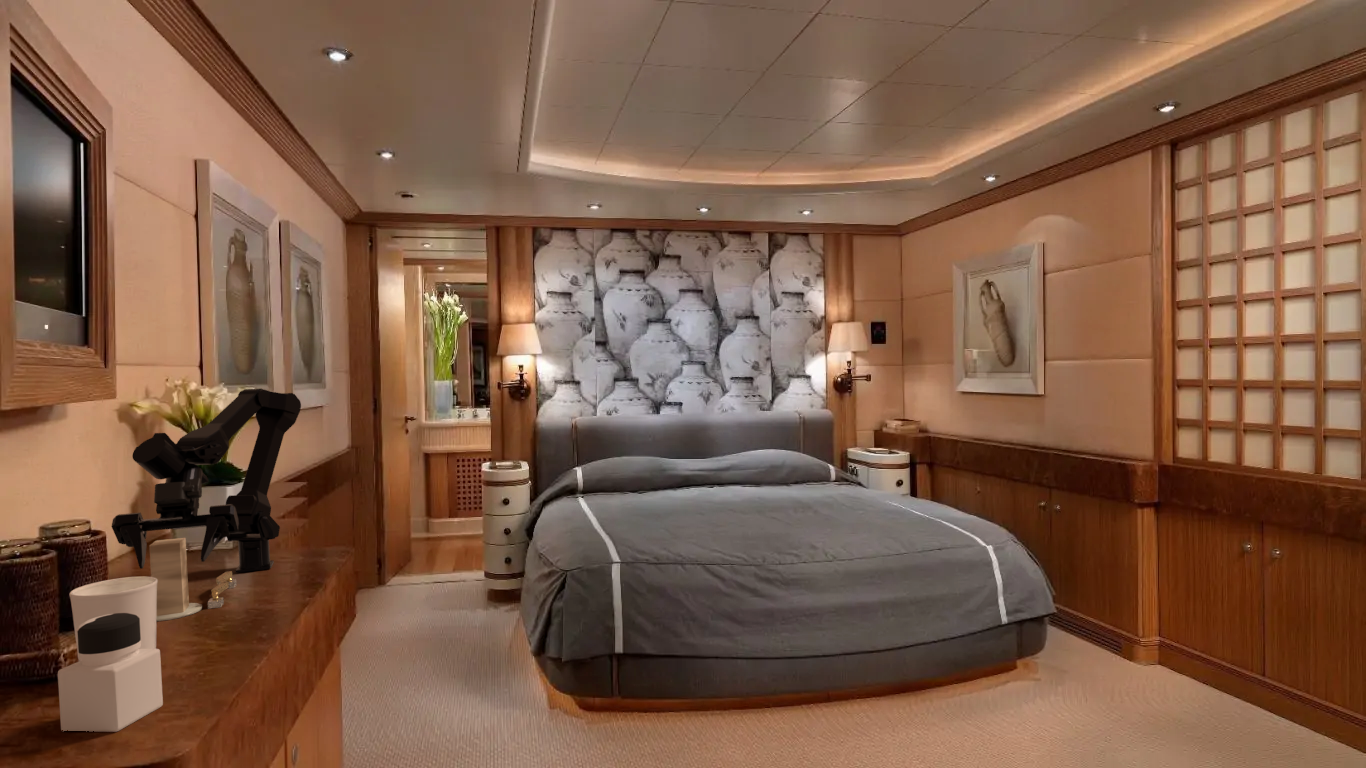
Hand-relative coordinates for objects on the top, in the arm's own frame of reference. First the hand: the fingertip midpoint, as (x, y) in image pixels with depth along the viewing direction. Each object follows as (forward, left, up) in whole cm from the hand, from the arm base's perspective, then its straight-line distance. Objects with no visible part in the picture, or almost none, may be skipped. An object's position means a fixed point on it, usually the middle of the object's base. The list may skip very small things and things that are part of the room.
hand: (172, 563), depth 138 cm
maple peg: (+1, 0, -8) cm, 8 cm away
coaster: (+1, 0, -8) cm, 8 cm away
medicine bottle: (+49, +4, -8) cm, 50 cm away
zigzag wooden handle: (-7, +6, -8) cm, 12 cm away
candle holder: (+31, 0, -8) cm, 32 cm away
